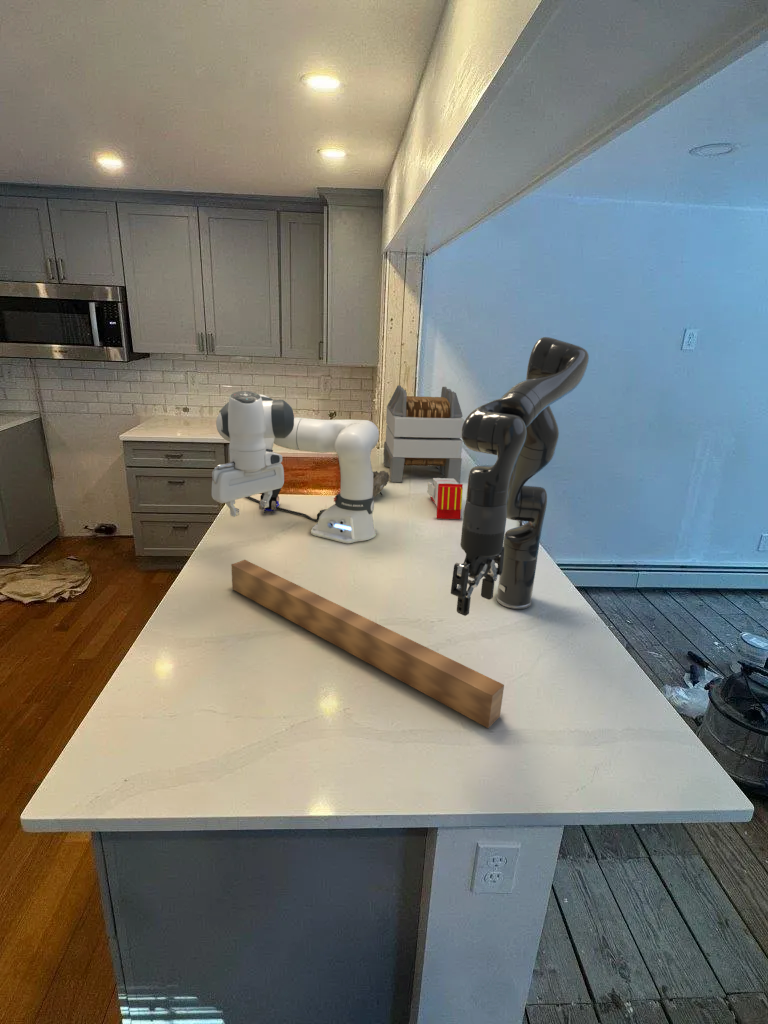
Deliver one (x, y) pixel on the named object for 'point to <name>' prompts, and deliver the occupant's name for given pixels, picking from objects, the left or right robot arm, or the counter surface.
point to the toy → (446, 497)
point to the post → (374, 644)
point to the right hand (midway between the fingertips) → (474, 605)
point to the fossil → (379, 481)
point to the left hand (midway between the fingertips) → (250, 511)
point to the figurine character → (271, 501)
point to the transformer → (423, 433)
